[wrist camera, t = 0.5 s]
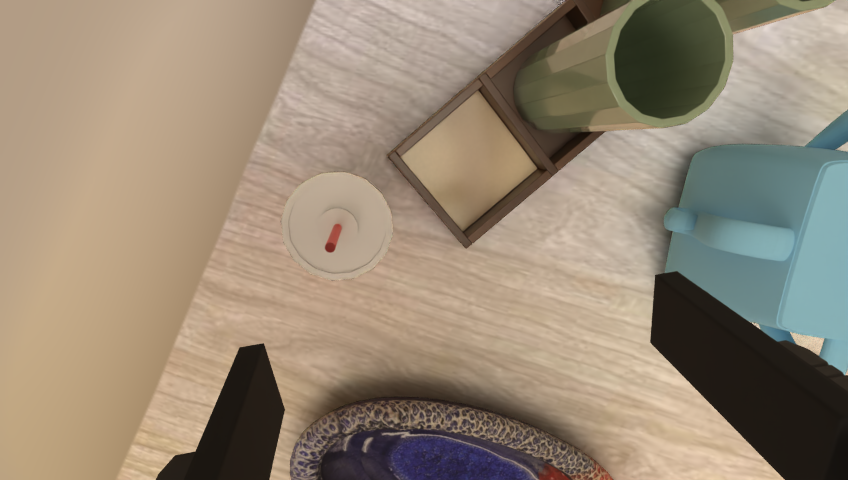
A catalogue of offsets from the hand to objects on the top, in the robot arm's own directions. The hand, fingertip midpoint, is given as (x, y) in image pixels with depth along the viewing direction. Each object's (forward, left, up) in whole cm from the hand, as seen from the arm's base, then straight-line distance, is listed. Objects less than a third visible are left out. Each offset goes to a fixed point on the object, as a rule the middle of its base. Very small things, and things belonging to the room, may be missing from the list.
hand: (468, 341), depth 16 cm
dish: (+22, +1, -20) cm, 30 cm away
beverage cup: (-3, -5, -20) cm, 21 cm away
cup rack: (-8, +12, -20) cm, 25 cm away
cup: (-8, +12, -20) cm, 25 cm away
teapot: (+5, +28, -20) cm, 35 cm away
